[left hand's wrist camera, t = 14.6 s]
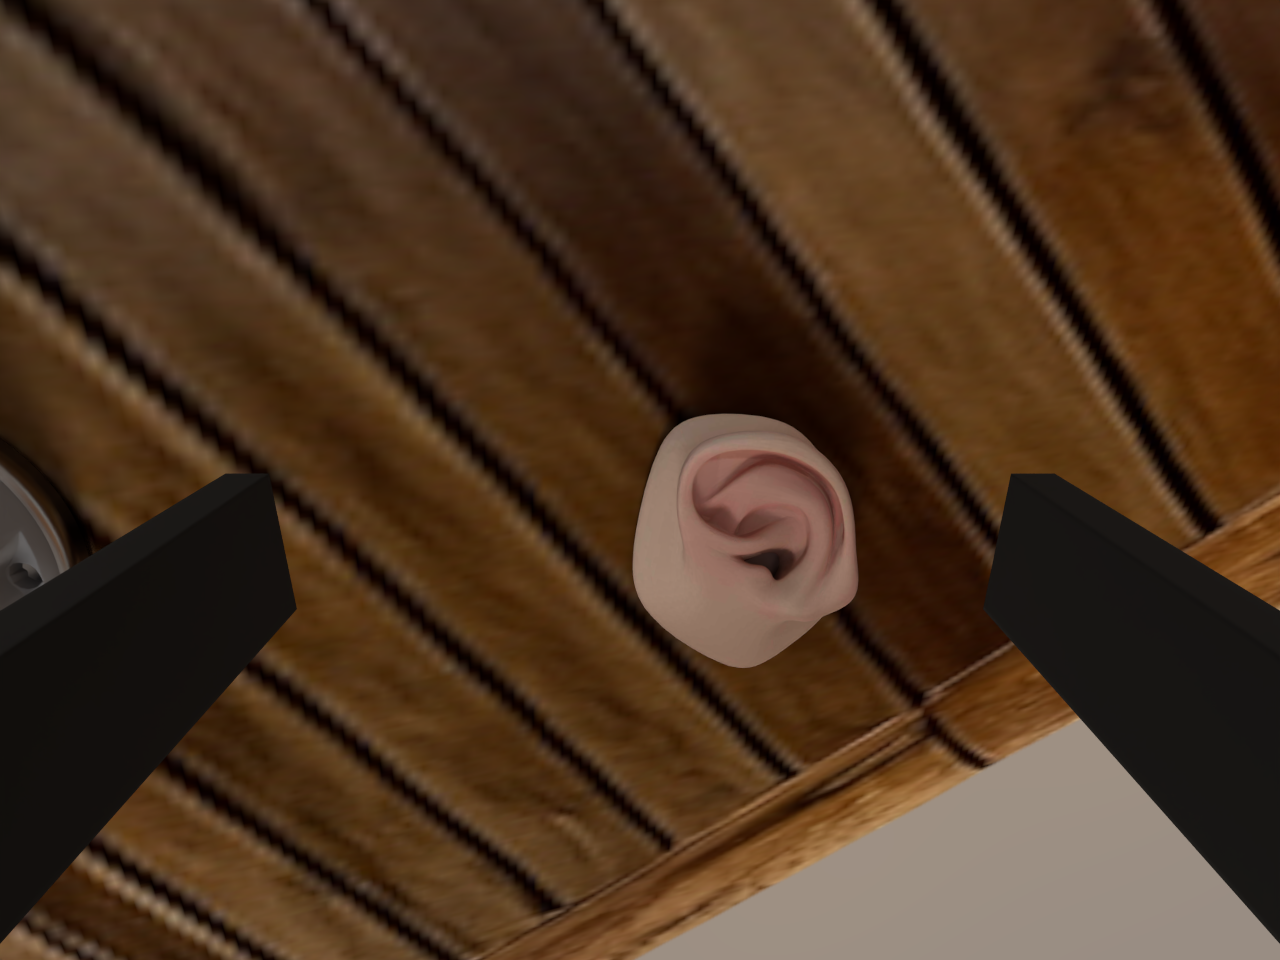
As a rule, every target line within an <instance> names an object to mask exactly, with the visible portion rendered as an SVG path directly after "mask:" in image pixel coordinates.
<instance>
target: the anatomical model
mask: <svg viewBox="0 0 1280 960" xmlns="http://www.w3.org/2000/svg"><path fill="white" fill-rule="evenodd" d="M633 578H634V584H635V588H636V591H637V594H638V596H639V598H640V600H641V602H642V604H643V605H644V607H645V609H646V610H647V611H648V612H649V613H650V615H651V616H652V617H653V618H654V619H655V620H656V621H657V622H658V623H659V624H660V625H661V626H662V627H663V628H664V629H666V630H667V631H668V632H670V633H671V634H672V635H673V636H675V637H676V638H677V639H679V640H680V641H682V642H684V643H685V644H687V645H688V646H690V647H691V648H693V649H695V650H696V651H698V652H700V653H702V654H704V655H705V656H707V657H709V658H712V659H714V660H716V661H718V662H720V663H723V664H726V665H728V666H733V667H739V668H747V667H753V666H756V665H759V664H761V663H763V662H765V661H767V660H769V659H770V658H772V657H774V656H775V655H777V654H778V653H780V652H781V651H782V650H784V649H785V648H787V647H788V646H789V645H790V644H792V643H793V642H794V641H796V640H797V639H798V638H800V637H801V636H802V635H804V634H805V633H806V632H807V631H808V630H809V629H810V628H811V627H813V626H814V625H815V624H816V623H817V622H818V621H819V620H820V619H821V618H822V617H823V616H825V615H827V614H830V613H832V612H834V611H837V610H839V609H841V608H842V607H844V606H846V605H847V604H848V603H849V602H851V600H852V599H853V598H854V596H855V594H856V591H857V587H858V567H857V556H856V540H855V523H854V514H853V508H852V503H851V499H850V495H849V492H848V489H847V487H846V485H845V482H844V480H843V479H842V477H841V475H840V473H839V472H838V470H837V469H836V468H835V467H834V466H833V464H832V463H831V462H830V461H829V460H828V459H827V458H826V457H825V456H824V455H823V454H821V453H820V452H819V451H818V450H817V449H816V448H815V447H814V446H813V444H812V443H811V442H810V441H809V440H808V439H807V438H806V437H805V436H804V435H803V434H802V433H800V432H799V431H797V430H796V429H795V428H793V427H792V426H790V425H788V424H786V423H783V422H781V421H778V420H774V419H770V418H766V417H762V416H753V415H744V414H713V415H704V416H699V417H695V418H691V419H688V420H686V421H684V422H682V423H681V424H679V425H678V426H676V427H675V428H674V429H673V430H672V431H671V432H670V433H669V434H668V435H667V437H666V438H665V439H664V441H663V443H662V445H661V446H660V449H659V451H658V453H657V456H656V458H655V460H654V463H653V465H652V468H651V471H650V475H649V478H648V481H647V485H646V488H645V492H644V496H643V500H642V504H641V509H640V513H639V518H638V524H637V529H636V535H635V542H634V552H633Z"/></svg>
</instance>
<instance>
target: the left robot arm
mask: <svg viewBox="0 0 1280 960" xmlns="http://www.w3.org/2000/svg"><path fill="white" fill-rule="evenodd" d="M296 609H297V608H296V603H295V598H294V594H293V589H292V584H291V579H290V574H289V569H288V564H287V560H286V555H285V550H284V545H283V540H282V535H281V530H280V526H279V521H278V516H277V511H276V506H275V501H274V496H273V492H272V487H271V482H270V477H269V474H224V475H223V476H221V477H219V478H218V479H216V480H214V481H213V482H211V483H209V484H208V485H206V486H204V487H203V488H201V489H200V490H198V491H196V492H195V493H193V494H191V495H190V496H188V497H186V498H185V499H183V500H181V501H180V502H178V503H177V504H175V505H173V506H172V507H170V508H168V509H167V510H165V511H163V512H162V513H160V514H158V515H157V516H155V517H153V518H152V519H150V520H149V521H147V522H145V523H144V524H142V525H140V526H139V527H137V528H135V529H134V530H132V531H130V532H129V533H127V534H126V535H124V536H122V537H121V538H119V539H117V540H116V541H114V542H112V543H111V544H109V545H107V546H106V547H104V548H103V549H101V550H99V551H98V552H96V553H94V554H93V555H91V556H89V554H88V550H87V547H86V544H85V541H84V538H83V536H82V534H81V531H80V529H79V527H78V524H77V523H76V521H75V519H74V517H73V515H72V514H71V512H70V510H69V508H68V507H67V505H66V504H65V502H64V501H63V499H62V498H61V496H60V495H59V494H58V493H57V491H56V490H55V489H54V488H53V486H52V485H51V484H50V483H49V482H48V480H47V479H46V478H45V477H44V476H43V475H42V474H41V473H40V472H39V471H38V470H37V469H36V468H35V467H34V466H33V465H32V464H31V463H30V462H29V461H28V460H27V459H26V458H25V457H23V456H22V455H21V454H20V453H18V452H17V451H16V450H15V449H13V448H12V447H11V446H10V445H8V444H7V443H5V442H4V441H3V440H1V439H0V943H1V942H2V941H3V940H4V939H5V938H6V936H7V935H8V934H9V933H10V932H11V931H12V930H13V929H14V927H15V926H16V925H17V924H18V923H19V922H20V921H21V920H22V918H23V917H24V916H25V915H26V914H27V913H28V912H29V911H30V909H31V908H32V907H33V906H34V905H35V904H36V903H37V901H38V900H39V899H40V898H41V897H42V896H43V895H44V894H45V892H46V891H47V890H48V889H49V888H50V887H51V886H52V885H53V883H54V882H55V881H56V880H57V879H58V878H59V877H60V876H61V874H62V873H63V872H64V871H65V870H66V869H67V868H68V867H69V865H70V864H71V863H72V862H73V861H74V860H75V859H76V857H77V856H78V855H79V854H80V853H81V852H82V851H83V850H84V848H85V847H86V846H87V845H88V844H89V843H90V842H91V841H92V839H93V838H94V837H95V836H96V835H97V834H98V833H99V832H100V830H101V829H102V828H103V827H104V826H105V825H106V824H107V823H108V821H109V820H110V819H111V818H112V817H113V816H114V815H115V813H116V812H117V811H118V810H119V809H120V808H121V807H122V806H123V804H124V803H125V802H126V801H127V800H128V799H129V798H130V797H131V795H132V794H133V793H134V792H135V791H136V790H137V789H138V788H139V786H140V785H141V784H142V783H143V782H144V781H145V780H146V779H147V777H148V776H149V775H150V774H151V773H152V772H153V771H154V769H155V768H156V767H157V766H158V765H159V764H160V763H161V762H162V760H163V759H164V758H165V757H166V756H167V755H168V754H169V753H170V751H171V750H172V749H173V748H174V747H175V746H176V745H177V744H178V742H179V741H180V740H181V739H182V738H183V737H184V736H185V735H186V733H187V732H188V731H189V730H190V729H191V728H192V727H193V725H194V724H195V723H196V722H197V721H198V720H199V719H200V718H201V716H202V715H203V714H204V713H205V712H206V711H207V710H208V709H209V707H210V706H211V705H212V704H213V703H214V702H215V701H216V700H217V698H218V697H219V696H220V695H221V694H222V693H223V692H224V691H225V689H226V688H227V687H228V686H229V685H230V684H231V683H232V681H233V680H234V679H235V678H236V677H237V676H238V675H239V674H240V672H241V671H242V670H243V669H244V668H245V667H246V666H247V665H248V663H249V662H250V661H251V660H252V659H253V658H254V657H255V656H256V654H257V653H258V652H259V651H260V650H261V649H262V648H263V646H264V645H265V644H266V643H267V642H268V641H269V640H270V639H271V637H272V636H273V635H274V634H275V633H276V632H277V631H278V630H279V628H280V627H281V626H282V625H283V624H284V623H285V622H286V621H287V619H288V618H289V617H290V616H291V615H292V614H293V613H294V612H295V610H296ZM983 609H984V610H985V612H986V613H987V614H988V615H989V616H990V617H991V618H992V619H993V621H994V622H995V623H996V624H997V625H998V626H999V627H1000V628H1001V630H1002V631H1003V632H1004V633H1005V634H1006V635H1007V636H1008V637H1009V639H1010V640H1011V641H1012V642H1013V643H1014V644H1015V645H1016V646H1017V648H1018V649H1019V650H1020V651H1021V652H1022V653H1023V654H1024V656H1025V657H1026V658H1027V659H1028V660H1029V661H1030V662H1031V663H1032V665H1033V666H1034V667H1035V668H1036V669H1037V670H1038V671H1039V672H1040V674H1041V675H1042V676H1043V677H1044V678H1045V679H1046V680H1047V681H1048V683H1049V684H1050V685H1051V686H1052V687H1053V688H1054V689H1055V690H1056V692H1057V693H1058V694H1059V695H1060V696H1061V697H1062V698H1063V700H1064V701H1065V702H1066V703H1067V704H1068V705H1069V706H1070V707H1071V709H1072V710H1073V711H1074V712H1075V713H1076V714H1077V715H1078V716H1079V718H1080V719H1081V720H1082V721H1083V722H1084V723H1085V724H1086V725H1087V727H1088V728H1089V729H1090V730H1091V731H1092V732H1093V733H1094V734H1095V736H1096V737H1097V738H1098V739H1099V740H1100V741H1101V742H1102V744H1103V745H1104V746H1105V747H1106V748H1107V749H1108V750H1109V751H1110V753H1111V754H1112V755H1113V756H1114V757H1115V758H1116V759H1117V760H1118V762H1119V763H1120V764H1121V765H1122V766H1123V767H1124V768H1125V769H1126V771H1127V772H1128V773H1129V774H1130V775H1131V776H1132V777H1133V779H1134V780H1135V781H1136V782H1137V783H1138V784H1139V785H1140V786H1141V788H1142V789H1143V790H1144V791H1145V792H1146V793H1147V794H1148V795H1149V797H1150V798H1151V799H1152V800H1153V801H1154V802H1155V803H1156V804H1157V806H1158V807H1159V808H1160V809H1161V810H1162V811H1163V812H1164V813H1165V815H1166V816H1167V817H1168V818H1169V819H1170V820H1171V821H1172V822H1173V824H1174V825H1175V826H1176V827H1177V828H1178V829H1179V830H1180V832H1181V833H1182V834H1183V835H1184V836H1185V837H1186V838H1187V839H1188V841H1189V842H1190V843H1191V844H1192V845H1193V846H1194V847H1195V848H1196V850H1197V851H1198V852H1199V853H1200V854H1201V855H1202V856H1203V857H1204V859H1205V860H1206V861H1207V862H1208V863H1209V864H1210V865H1211V866H1212V868H1213V869H1214V870H1215V871H1216V872H1217V873H1218V874H1219V876H1220V877H1221V878H1222V879H1223V880H1224V881H1225V882H1226V883H1227V885H1228V886H1229V887H1230V888H1231V889H1232V890H1233V891H1234V892H1235V894H1236V895H1237V896H1238V897H1239V898H1240V899H1241V900H1242V901H1243V903H1244V904H1245V905H1246V906H1247V907H1248V908H1249V909H1250V910H1251V912H1252V913H1253V914H1254V915H1255V916H1256V917H1257V918H1258V920H1259V921H1260V922H1261V923H1262V924H1263V925H1264V926H1265V927H1266V929H1267V930H1268V931H1269V932H1270V933H1271V934H1272V935H1273V936H1274V938H1275V939H1276V940H1277V941H1278V942H1279V943H1280V611H1279V610H1278V609H1276V608H1275V607H1273V606H1271V605H1270V604H1268V603H1266V602H1265V601H1263V600H1261V599H1260V598H1258V597H1256V596H1255V595H1253V594H1252V593H1250V592H1248V591H1247V590H1245V589H1243V588H1242V587H1240V586H1238V585H1237V584H1235V583H1233V582H1232V581H1230V580H1228V579H1227V578H1225V577H1224V576H1222V575H1220V574H1219V573H1217V572H1215V571H1214V570H1212V569H1210V568H1209V567H1207V566H1205V565H1204V564H1202V563H1201V562H1199V561H1197V560H1196V559H1194V558H1192V557H1191V556H1189V555H1187V554H1186V553H1184V552H1182V551H1181V550H1179V549H1177V548H1176V547H1174V546H1173V545H1171V544H1169V543H1168V542H1166V541H1164V540H1163V539H1161V538H1159V537H1158V536H1156V535H1154V534H1153V533H1151V532H1150V531H1148V530H1146V529H1145V528H1143V527H1141V526H1140V525H1138V524H1136V523H1135V522H1133V521H1131V520H1130V519H1128V518H1127V517H1125V516H1123V515H1122V514H1120V513H1118V512H1117V511H1115V510H1113V509H1112V508H1110V507H1108V506H1107V505H1105V504H1103V503H1102V502H1100V501H1099V500H1097V499H1095V498H1094V497H1092V496H1090V495H1089V494H1087V493H1085V492H1084V491H1082V490H1080V489H1079V488H1077V487H1076V486H1074V485H1072V484H1071V483H1069V482H1067V481H1066V480H1064V479H1062V478H1061V477H1059V476H1057V475H1056V474H1011V477H1010V482H1009V487H1008V492H1007V496H1006V501H1005V506H1004V511H1003V516H1002V521H1001V526H1000V530H999V535H998V540H997V545H996V550H995V555H994V560H993V564H992V569H991V574H990V579H989V584H988V589H987V594H986V598H985V603H984V608H983Z"/></svg>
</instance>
